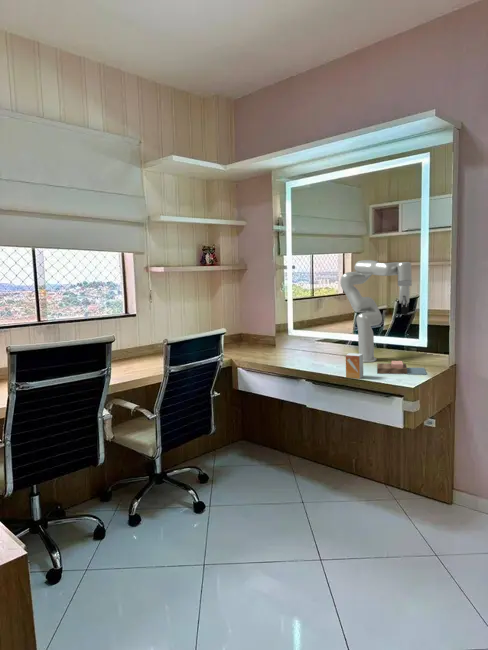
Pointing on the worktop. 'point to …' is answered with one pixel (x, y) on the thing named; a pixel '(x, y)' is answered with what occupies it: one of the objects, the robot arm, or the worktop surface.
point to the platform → (390, 369)
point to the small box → (354, 365)
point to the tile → (397, 364)
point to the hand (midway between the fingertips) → (405, 313)
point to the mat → (416, 371)
